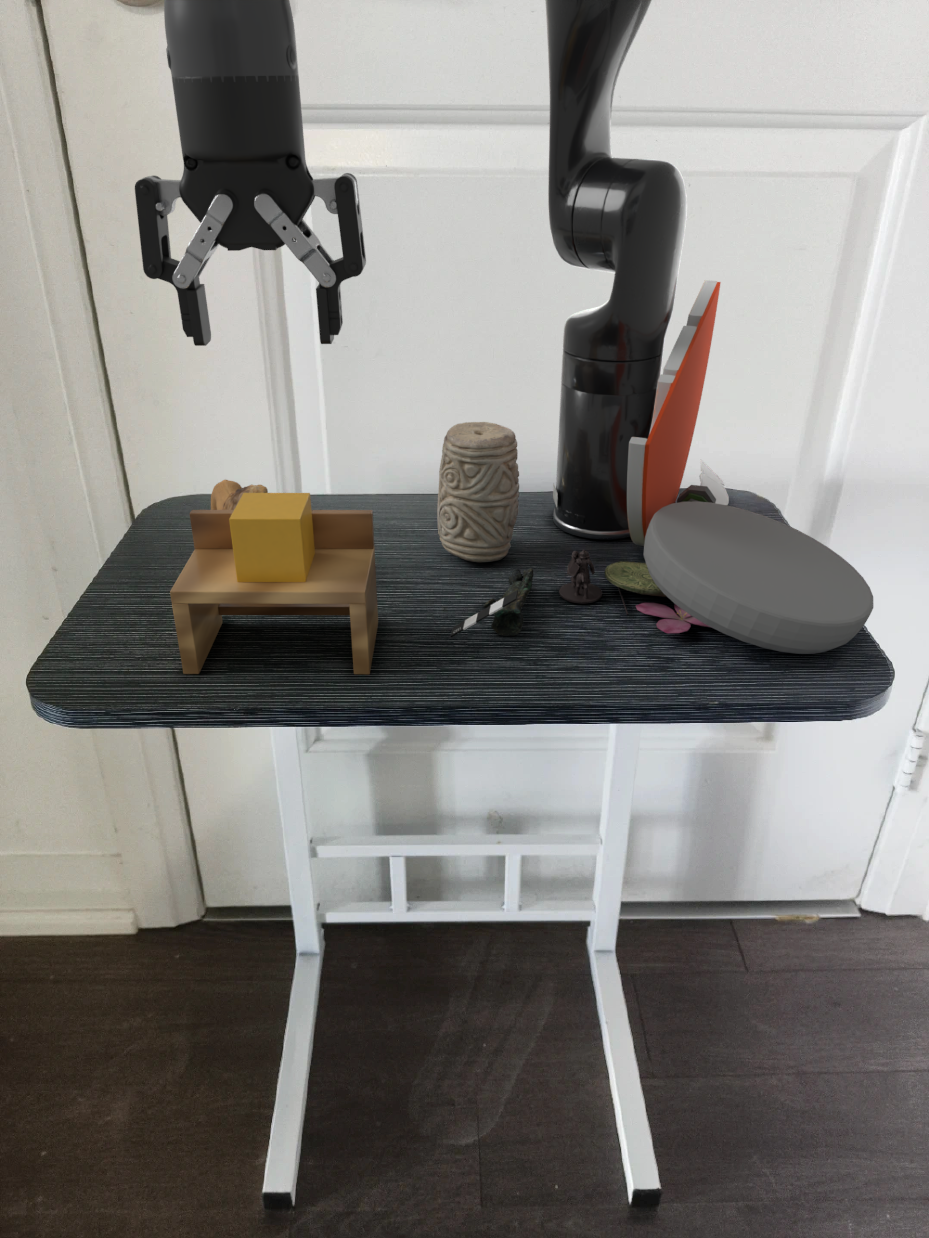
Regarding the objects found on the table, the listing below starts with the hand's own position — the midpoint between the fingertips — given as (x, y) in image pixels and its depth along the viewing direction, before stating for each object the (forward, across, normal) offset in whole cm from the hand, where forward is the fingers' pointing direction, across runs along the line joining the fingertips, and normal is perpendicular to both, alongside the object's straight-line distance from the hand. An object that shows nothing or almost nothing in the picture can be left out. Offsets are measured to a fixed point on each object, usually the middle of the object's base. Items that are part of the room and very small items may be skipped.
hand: (265, 342), depth 66 cm
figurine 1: (+24, -16, -3) cm, 29 cm away
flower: (+24, -31, -2) cm, 39 cm away
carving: (+24, -15, -15) cm, 32 cm away
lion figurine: (+24, +7, -14) cm, 28 cm away
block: (+16, 0, +2) cm, 16 cm away
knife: (+23, -40, -23) cm, 52 cm away
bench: (+23, +1, +2) cm, 23 cm away
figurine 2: (+24, -24, -7) cm, 35 cm away
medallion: (+23, -30, -8) cm, 38 cm away
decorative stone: (+18, -37, -3) cm, 41 cm away
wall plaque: (+11, -38, -34) cm, 52 cm away
